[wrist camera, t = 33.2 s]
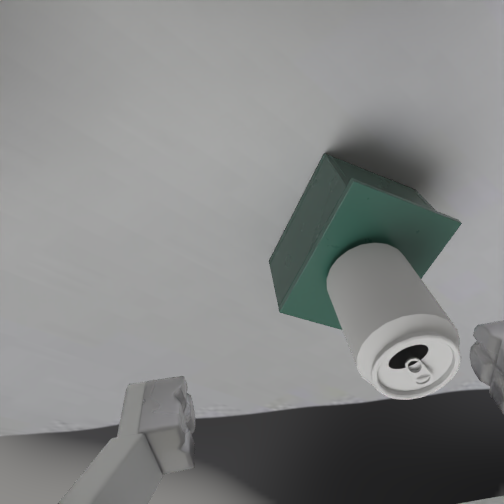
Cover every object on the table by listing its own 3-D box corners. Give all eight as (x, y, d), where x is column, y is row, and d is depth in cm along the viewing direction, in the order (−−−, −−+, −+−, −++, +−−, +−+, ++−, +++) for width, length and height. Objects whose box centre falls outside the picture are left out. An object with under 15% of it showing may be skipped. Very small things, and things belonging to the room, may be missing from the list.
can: (383, 222, 37) (449, 312, 27) (417, 278, 40) (486, 377, 30) (309, 266, 39) (344, 367, 28) (347, 316, 42) (391, 421, 32)
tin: (323, 153, 42) (346, 186, 35) (415, 189, 45) (452, 227, 38) (268, 261, 49) (278, 307, 42) (352, 287, 52) (374, 334, 45)
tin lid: (351, 177, 35) (353, 181, 35) (458, 219, 38) (462, 223, 38) (278, 307, 42) (279, 312, 41) (374, 334, 45) (376, 339, 44)
